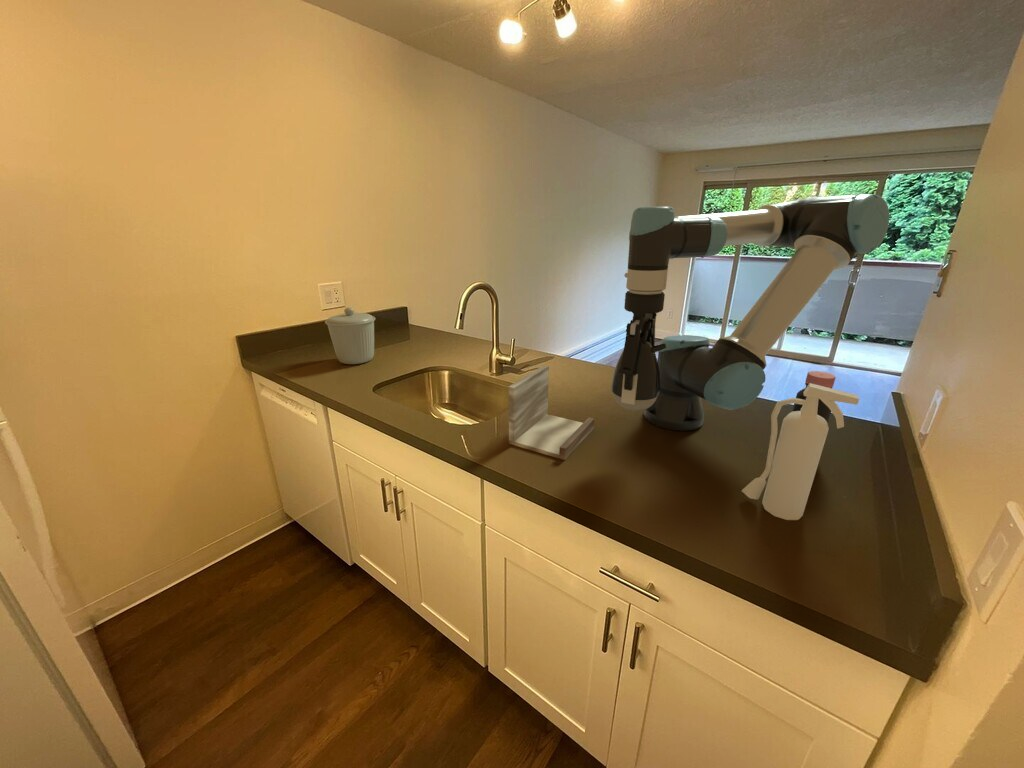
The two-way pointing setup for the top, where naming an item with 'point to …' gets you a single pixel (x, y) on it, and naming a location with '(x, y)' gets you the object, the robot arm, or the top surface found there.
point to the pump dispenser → (641, 379)
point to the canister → (352, 336)
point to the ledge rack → (541, 419)
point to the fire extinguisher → (796, 452)
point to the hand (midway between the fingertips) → (635, 394)
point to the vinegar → (821, 380)
